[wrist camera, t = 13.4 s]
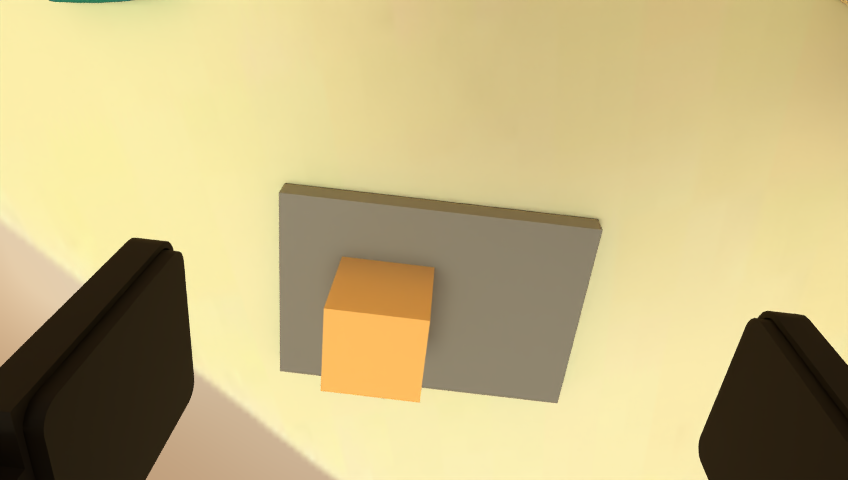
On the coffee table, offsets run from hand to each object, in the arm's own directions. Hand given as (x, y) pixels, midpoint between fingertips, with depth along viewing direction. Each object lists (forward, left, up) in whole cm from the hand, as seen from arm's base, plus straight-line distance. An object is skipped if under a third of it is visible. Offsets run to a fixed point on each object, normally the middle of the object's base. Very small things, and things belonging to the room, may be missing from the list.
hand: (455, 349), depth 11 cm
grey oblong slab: (0, +17, -28) cm, 33 cm away
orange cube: (+3, +17, -27) cm, 32 cm away
